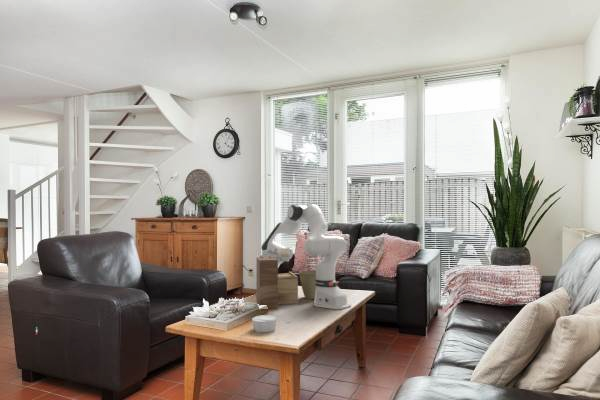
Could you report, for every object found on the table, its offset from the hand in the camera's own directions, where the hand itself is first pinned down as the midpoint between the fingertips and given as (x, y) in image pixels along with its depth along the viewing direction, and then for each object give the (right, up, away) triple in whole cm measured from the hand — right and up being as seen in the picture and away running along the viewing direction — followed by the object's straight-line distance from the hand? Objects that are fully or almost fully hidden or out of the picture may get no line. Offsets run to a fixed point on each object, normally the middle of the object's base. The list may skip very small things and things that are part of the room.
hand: (279, 249), depth 269 cm
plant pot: (+20, -29, -9) cm, 37 cm away
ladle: (+2, -2, -9) cm, 9 cm away
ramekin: (-3, -28, -76) cm, 81 cm away
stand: (-1, -29, -22) cm, 36 cm away
